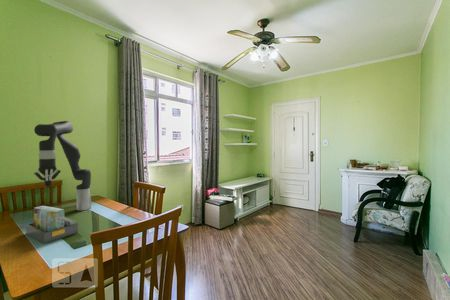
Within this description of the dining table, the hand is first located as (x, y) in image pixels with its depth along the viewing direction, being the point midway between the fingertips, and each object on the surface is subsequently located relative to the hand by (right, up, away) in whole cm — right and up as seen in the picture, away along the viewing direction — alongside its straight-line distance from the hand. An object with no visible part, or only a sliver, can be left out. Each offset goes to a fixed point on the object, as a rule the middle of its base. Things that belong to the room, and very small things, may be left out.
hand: (48, 186), depth 125 cm
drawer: (+1, -29, +2) cm, 29 cm away
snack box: (0, -28, +1) cm, 28 cm away
